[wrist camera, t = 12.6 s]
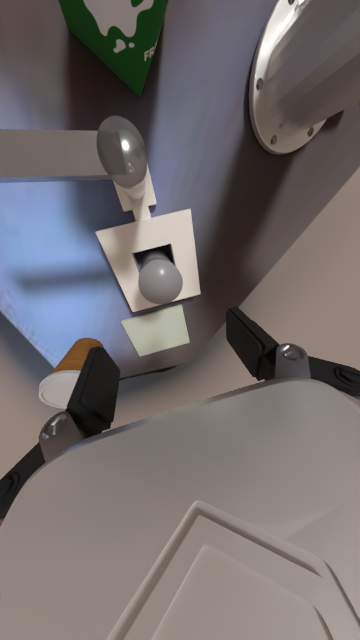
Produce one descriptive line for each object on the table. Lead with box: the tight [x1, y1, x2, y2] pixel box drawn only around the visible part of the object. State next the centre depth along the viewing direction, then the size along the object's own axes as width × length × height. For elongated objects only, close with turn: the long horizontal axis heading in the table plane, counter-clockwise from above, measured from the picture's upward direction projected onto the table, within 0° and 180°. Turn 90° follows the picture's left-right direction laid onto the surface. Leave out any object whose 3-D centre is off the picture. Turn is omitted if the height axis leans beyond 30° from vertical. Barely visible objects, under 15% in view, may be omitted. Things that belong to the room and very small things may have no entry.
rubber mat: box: [121, 305, 190, 356], centre depth 37 cm, size 14×12×1 cm
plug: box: [138, 249, 183, 304], centre depth 24 cm, size 6×6×10 cm
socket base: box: [96, 164, 200, 312], centre depth 21 cm, size 14×20×12 cm
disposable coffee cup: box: [39, 338, 103, 409], centre depth 31 cm, size 10×10×12 cm
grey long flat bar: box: [0, 116, 147, 189], centre depth 10 cm, size 19×3×2 cm, turn 93°
